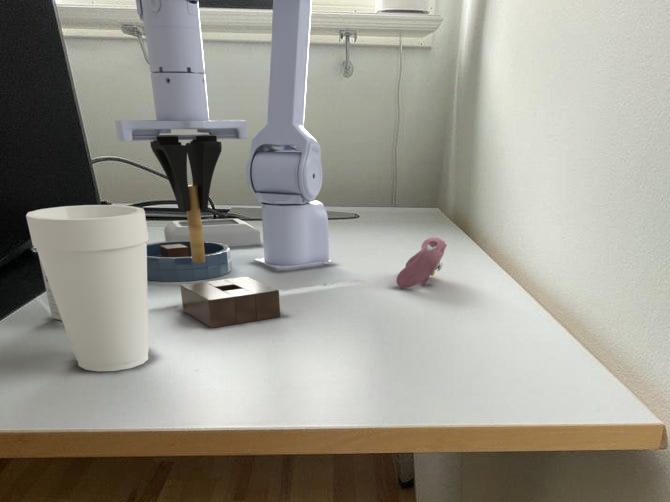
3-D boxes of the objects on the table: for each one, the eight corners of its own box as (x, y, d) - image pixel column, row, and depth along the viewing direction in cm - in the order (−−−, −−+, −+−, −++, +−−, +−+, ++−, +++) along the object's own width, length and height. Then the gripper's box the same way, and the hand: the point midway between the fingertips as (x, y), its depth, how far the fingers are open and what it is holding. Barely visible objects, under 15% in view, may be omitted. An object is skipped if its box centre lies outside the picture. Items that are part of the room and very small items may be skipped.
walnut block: (182, 264, 98) (180, 243, 96) (190, 268, 96) (187, 246, 94) (162, 267, 96) (159, 245, 95) (170, 270, 94) (167, 248, 93)
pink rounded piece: (422, 301, 88) (449, 254, 84) (392, 284, 87) (418, 235, 84) (430, 285, 96) (455, 241, 93) (403, 269, 96) (427, 224, 92)
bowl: (209, 261, 103) (206, 237, 101) (247, 277, 93) (245, 251, 91) (121, 271, 96) (117, 246, 94) (152, 289, 86) (148, 262, 84)
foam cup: (105, 385, 56) (74, 223, 50) (38, 365, 61) (1, 213, 54) (186, 355, 63) (168, 210, 57) (120, 339, 68) (96, 202, 61)
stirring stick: (202, 259, 81) (194, 184, 77) (207, 261, 80) (199, 185, 76) (190, 261, 81) (181, 185, 76) (195, 263, 79) (186, 186, 75)
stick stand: (248, 301, 81) (246, 276, 80) (280, 316, 75) (279, 290, 74) (183, 310, 77) (179, 284, 76) (211, 328, 71) (208, 300, 70)
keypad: (259, 224, 112) (168, 228, 107) (261, 247, 114) (171, 252, 109) (247, 216, 120) (162, 220, 115) (249, 238, 121) (165, 242, 117)
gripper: (121, 70, 64) (143, 218, 71) (255, 74, 72) (264, 208, 78) (101, 72, 69) (123, 210, 76) (228, 76, 77) (238, 202, 83)
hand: (193, 209), depth 78 cm, fingers closed on stirring stick, 1 cm apart
